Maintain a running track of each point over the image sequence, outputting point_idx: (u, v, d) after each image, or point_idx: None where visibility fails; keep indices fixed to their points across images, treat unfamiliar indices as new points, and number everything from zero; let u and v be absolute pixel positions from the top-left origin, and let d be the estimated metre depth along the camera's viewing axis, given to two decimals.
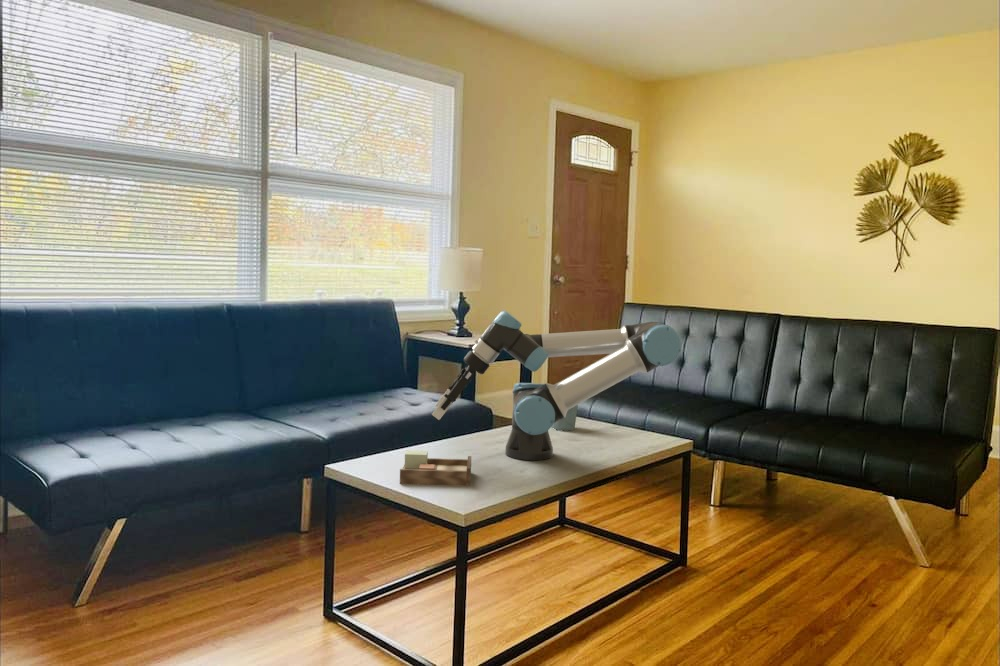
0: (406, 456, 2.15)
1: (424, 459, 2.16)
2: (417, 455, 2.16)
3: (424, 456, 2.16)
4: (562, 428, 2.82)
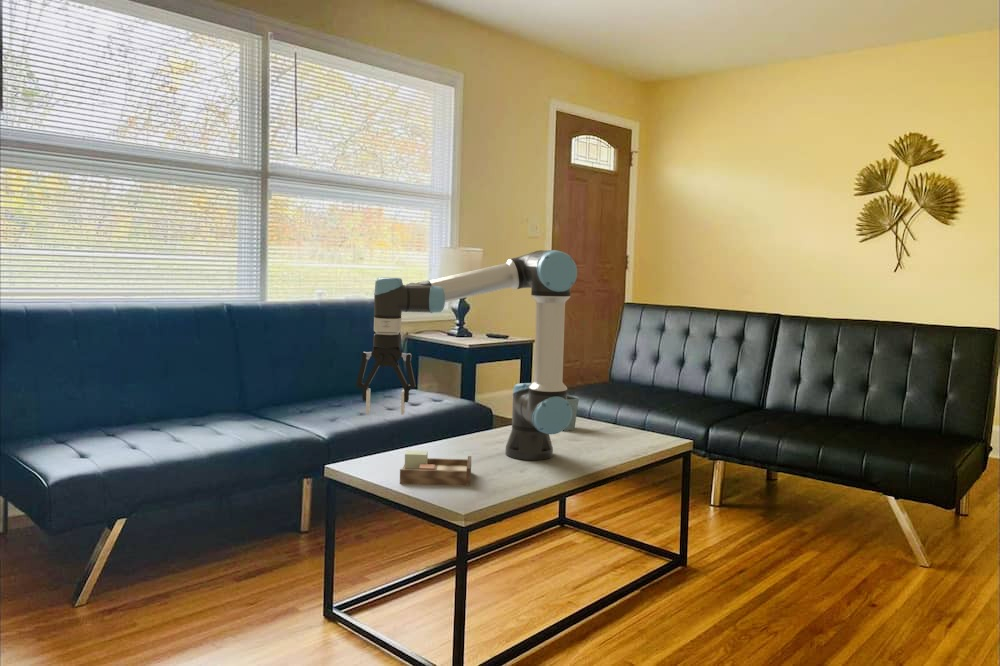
0: (406, 456, 2.15)
1: (424, 459, 2.16)
2: (417, 455, 2.16)
3: (424, 456, 2.16)
4: None
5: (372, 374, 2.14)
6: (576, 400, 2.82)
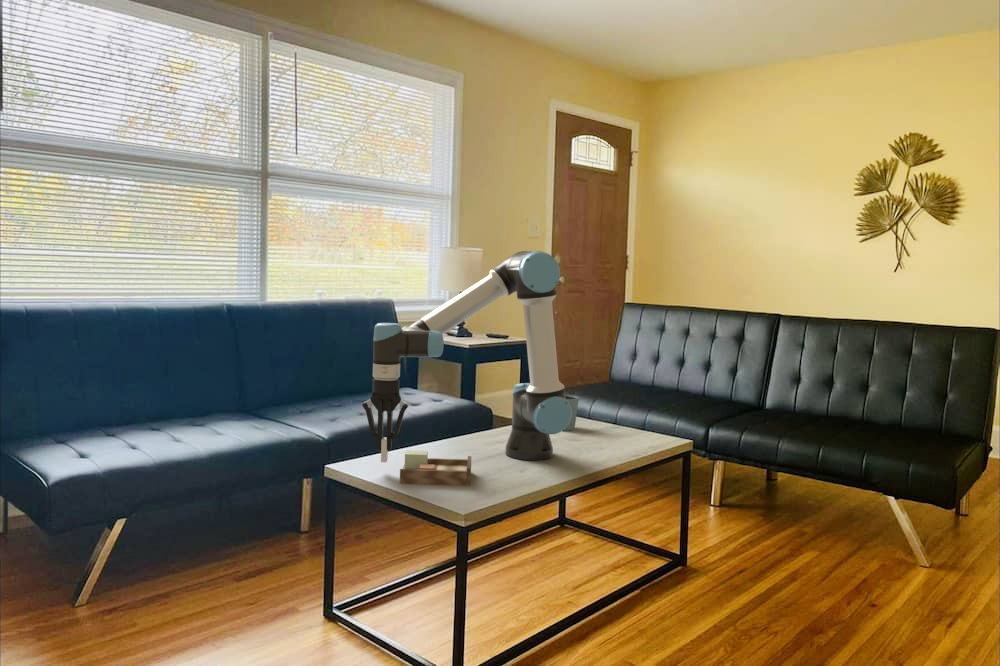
0: (406, 456, 2.15)
1: (424, 459, 2.16)
2: (417, 455, 2.16)
3: (424, 456, 2.16)
4: None
5: (380, 421, 2.15)
6: (576, 400, 2.82)
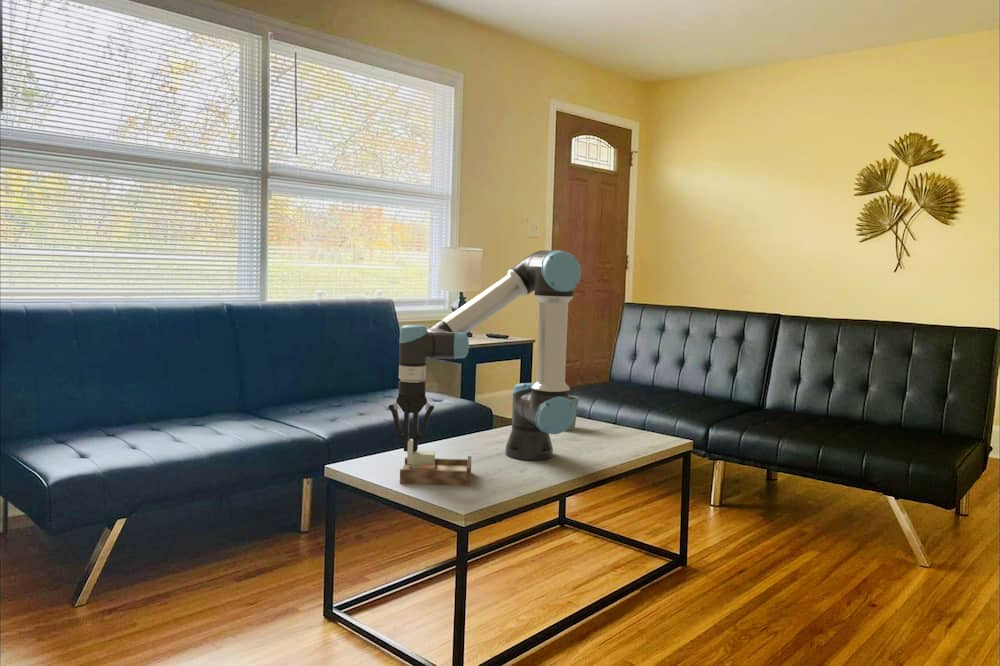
0: (413, 456, 2.16)
1: (431, 459, 2.16)
2: (424, 455, 2.16)
3: (431, 456, 2.16)
4: None
5: (406, 423, 2.16)
6: (576, 400, 2.82)
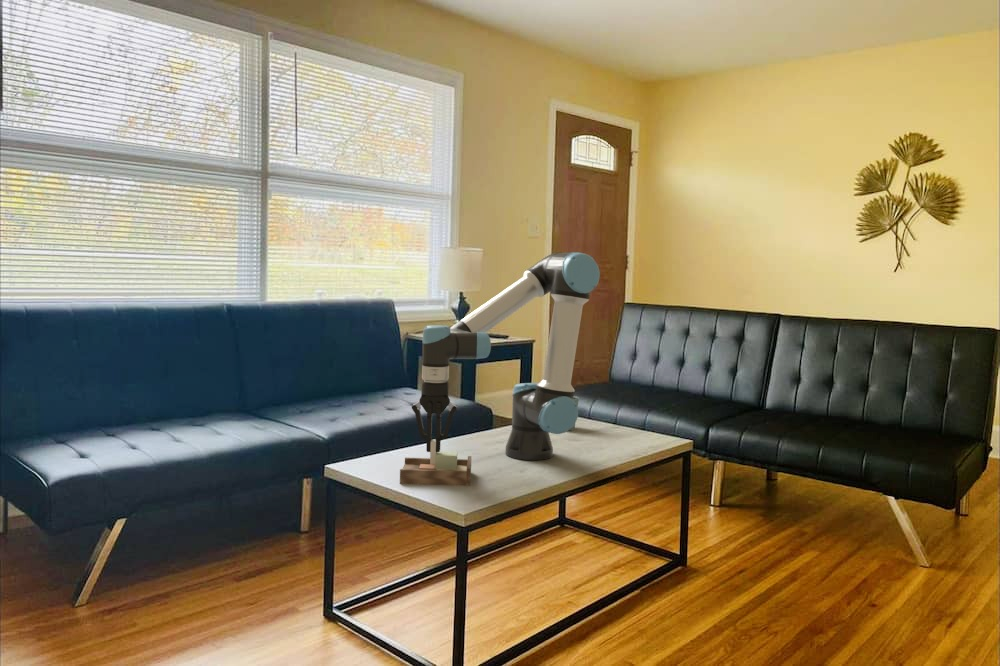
0: (436, 457, 2.16)
1: (454, 460, 2.16)
2: (447, 456, 2.16)
3: (454, 457, 2.16)
4: None
5: (429, 423, 2.16)
6: (576, 400, 2.82)
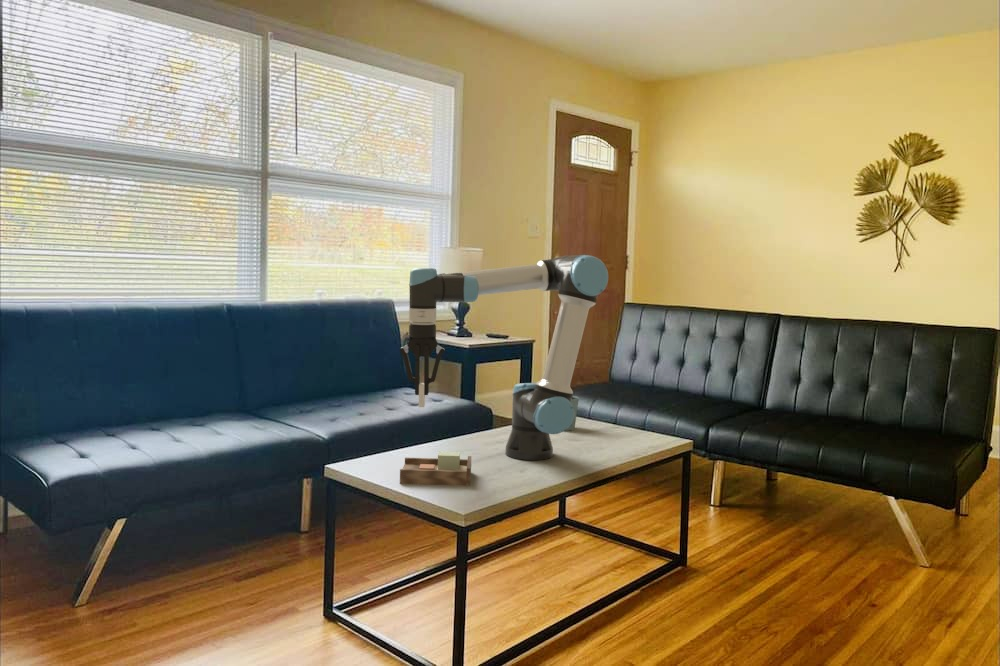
0: (439, 457, 2.16)
1: (457, 460, 2.16)
2: (450, 456, 2.16)
3: (457, 457, 2.16)
4: None
5: (417, 366, 2.16)
6: (576, 400, 2.82)
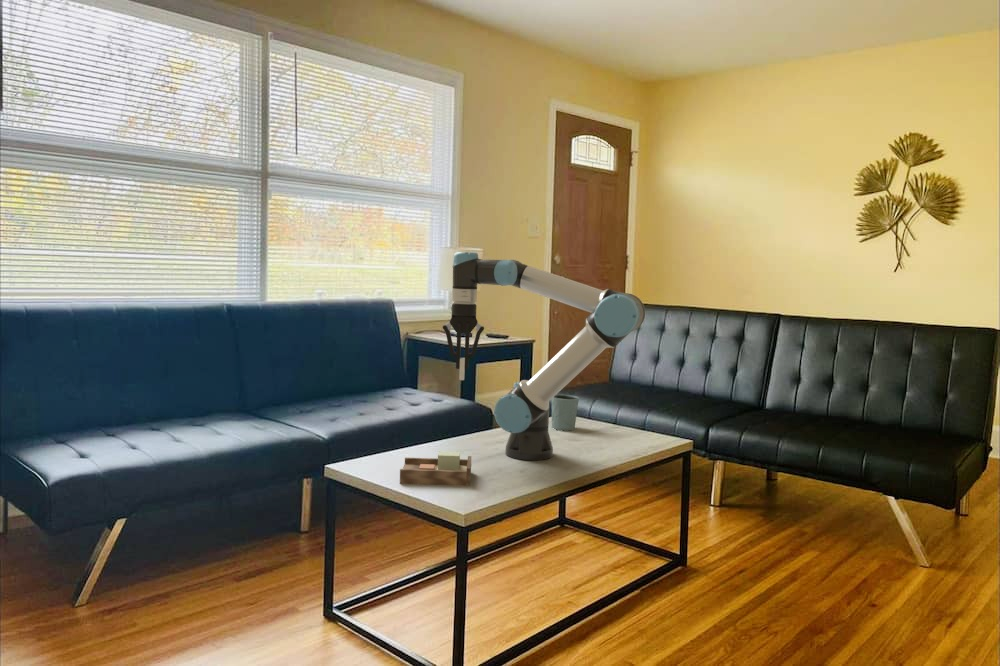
0: (439, 457, 2.16)
1: (457, 460, 2.16)
2: (450, 456, 2.16)
3: (457, 457, 2.16)
4: (562, 428, 2.82)
5: (459, 342, 2.35)
6: (576, 400, 2.82)
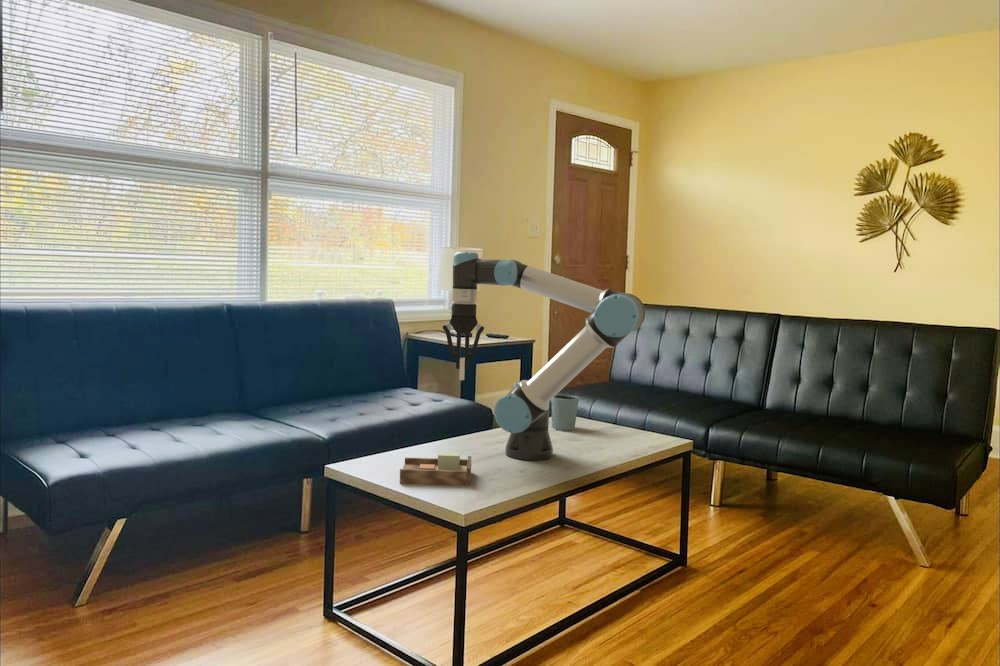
0: (439, 457, 2.16)
1: (457, 460, 2.16)
2: (450, 456, 2.16)
3: (457, 457, 2.16)
4: (562, 428, 2.82)
5: (459, 342, 2.35)
6: (576, 400, 2.82)
